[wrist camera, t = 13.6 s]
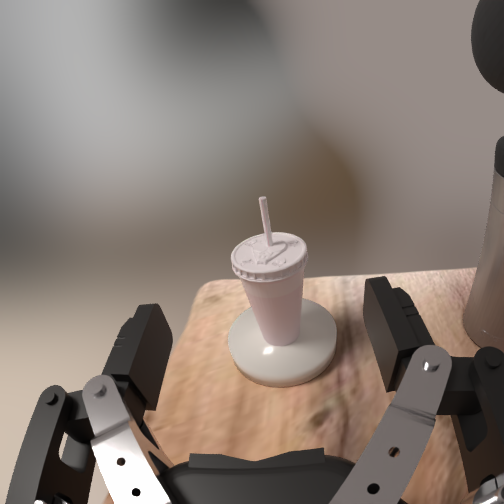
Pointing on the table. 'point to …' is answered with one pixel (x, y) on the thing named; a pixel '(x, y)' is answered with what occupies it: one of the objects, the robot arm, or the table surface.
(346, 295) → the table surface
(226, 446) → the table surface
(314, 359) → the trivet
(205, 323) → the table surface
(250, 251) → the smoothie
